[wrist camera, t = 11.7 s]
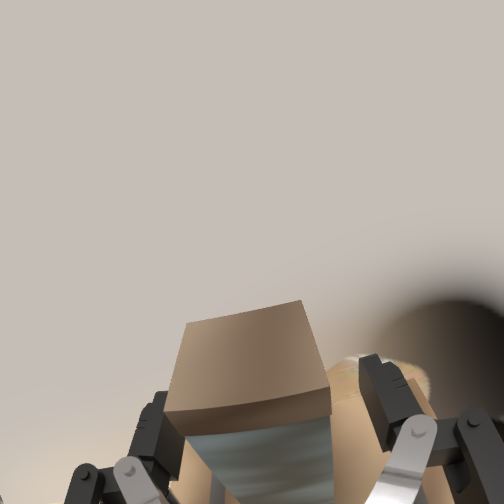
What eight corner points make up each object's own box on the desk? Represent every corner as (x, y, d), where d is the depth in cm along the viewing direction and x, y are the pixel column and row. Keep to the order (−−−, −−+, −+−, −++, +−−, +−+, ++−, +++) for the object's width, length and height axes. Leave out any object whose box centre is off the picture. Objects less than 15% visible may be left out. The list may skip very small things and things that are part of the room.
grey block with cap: (264, 528, 11) (163, 411, 6) (261, 476, 15) (186, 323, 10) (335, 517, 11) (329, 386, 6) (324, 465, 14) (300, 299, 10)
